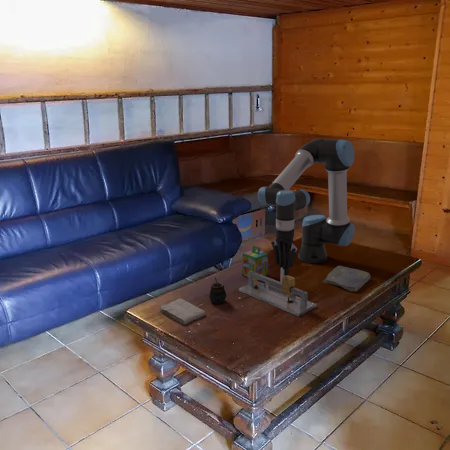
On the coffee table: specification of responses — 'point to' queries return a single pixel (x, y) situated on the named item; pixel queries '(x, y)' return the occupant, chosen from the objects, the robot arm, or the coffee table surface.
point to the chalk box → (255, 262)
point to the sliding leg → (287, 285)
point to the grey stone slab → (347, 278)
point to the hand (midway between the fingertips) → (283, 281)
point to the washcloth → (182, 311)
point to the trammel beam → (277, 294)
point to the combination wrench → (279, 290)
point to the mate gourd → (217, 293)
